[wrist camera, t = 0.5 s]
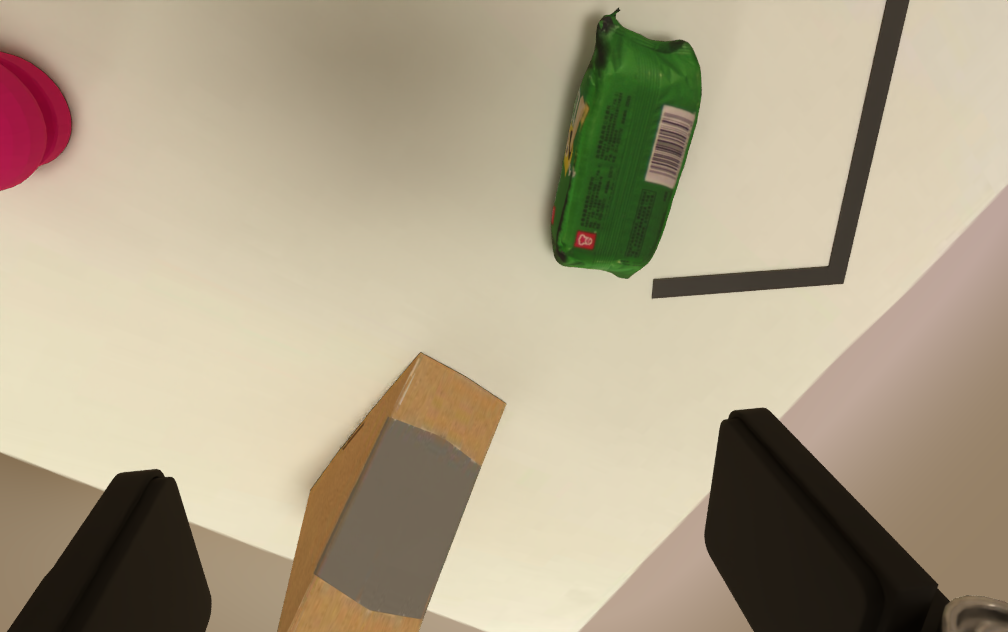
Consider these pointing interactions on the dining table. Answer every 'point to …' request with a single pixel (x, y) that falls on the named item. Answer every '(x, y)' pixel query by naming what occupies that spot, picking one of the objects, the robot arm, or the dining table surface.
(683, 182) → the dining table surface
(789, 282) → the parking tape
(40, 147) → the pepper mill
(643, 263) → the snack package
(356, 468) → the sandwich container
